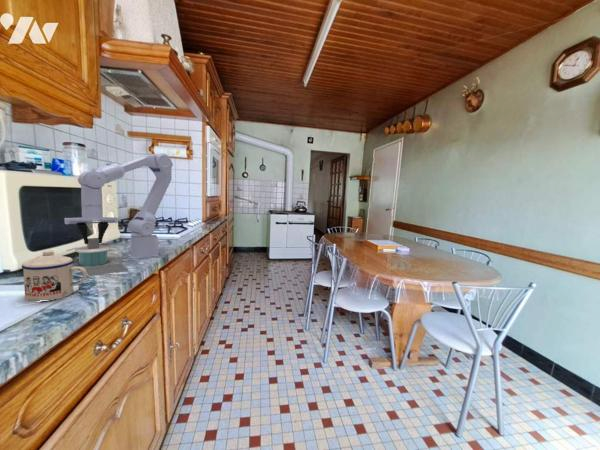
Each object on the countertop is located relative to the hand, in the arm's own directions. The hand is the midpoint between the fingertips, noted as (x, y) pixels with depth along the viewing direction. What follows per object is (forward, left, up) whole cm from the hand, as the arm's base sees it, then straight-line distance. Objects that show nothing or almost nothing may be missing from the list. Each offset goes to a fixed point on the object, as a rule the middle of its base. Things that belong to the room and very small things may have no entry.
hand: (93, 243), depth 90 cm
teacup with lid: (+11, +28, -8) cm, 31 cm away
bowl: (0, 0, -8) cm, 8 cm away
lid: (0, 0, -2) cm, 2 cm away
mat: (-2, +11, -8) cm, 14 cm away
